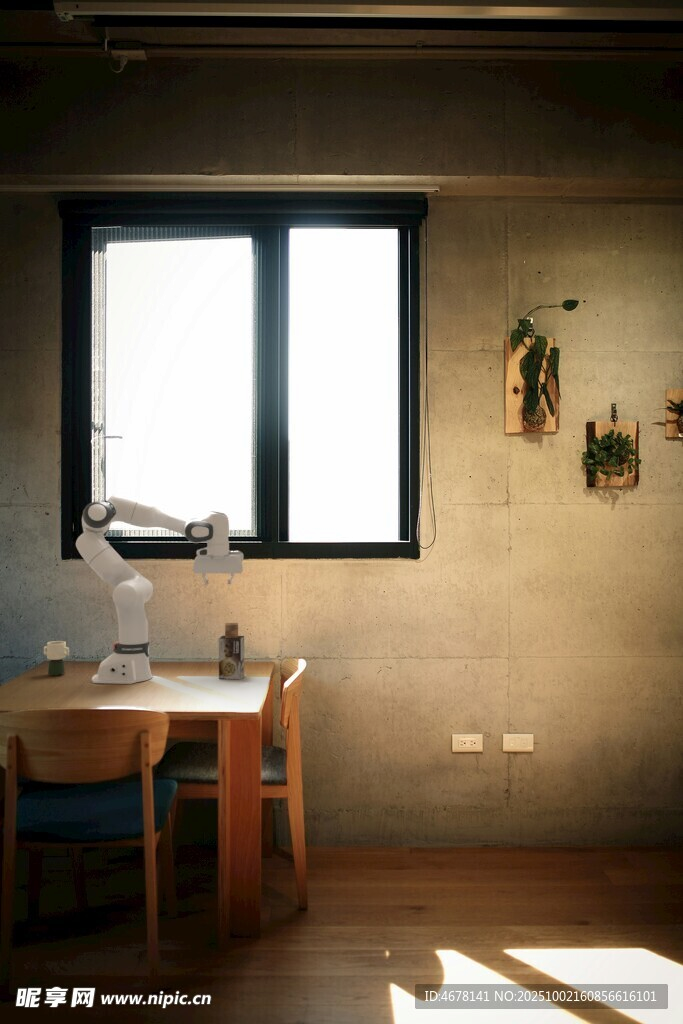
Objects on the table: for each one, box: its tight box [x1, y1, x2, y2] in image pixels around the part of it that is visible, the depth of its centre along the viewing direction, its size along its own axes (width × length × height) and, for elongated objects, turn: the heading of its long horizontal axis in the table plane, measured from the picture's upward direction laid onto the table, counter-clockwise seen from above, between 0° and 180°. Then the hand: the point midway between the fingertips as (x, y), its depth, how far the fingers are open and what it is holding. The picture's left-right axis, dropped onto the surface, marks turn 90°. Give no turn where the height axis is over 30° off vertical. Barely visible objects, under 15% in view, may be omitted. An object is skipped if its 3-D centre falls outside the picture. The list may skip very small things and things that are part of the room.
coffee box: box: [218, 635, 245, 680], centre depth 298 cm, size 9×6×16 cm
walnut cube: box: [224, 622, 239, 638], centre depth 298 cm, size 5×5×5 cm
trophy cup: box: [43, 640, 70, 676], centre depth 300 cm, size 11×7×13 cm, turn 80°
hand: (218, 584), depth 313 cm, fingers open, 8 cm apart
